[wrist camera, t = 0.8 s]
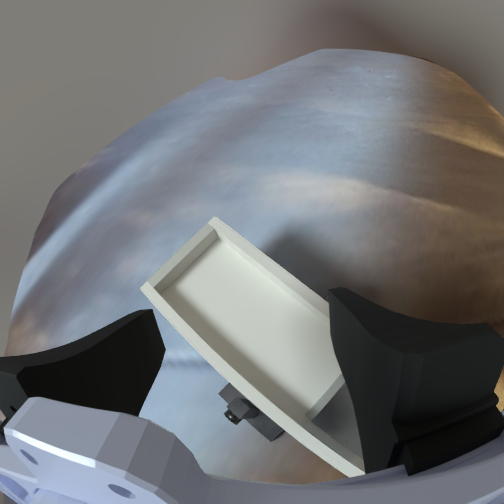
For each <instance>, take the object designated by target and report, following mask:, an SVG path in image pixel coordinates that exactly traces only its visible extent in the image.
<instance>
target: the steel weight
mask: <svg viewBox="0 0 504 504" xmlns="http://www.w3.org/2000/svg"><path fill="white" fill-rule="evenodd" d="M306 416H307V417H308V419H309V420H310V421H311V422H312V423H314V424H315V425H316V426H318V427H319V428H320V429H322V430H323V431H324V432H325V433H327V434H328V435H329V436H331V437H332V438H334V439H335V440H336V441H338V442H339V443H340V444H342V445H343V446H345V447H346V448H347V449H349V450H350V451H352V452H353V453H354V454H356V455H357V456H359V457H360V458H362V459H363V454H362V448H361V442H360V436H359V431H358V426H357V421H356V416H355V412H354V407H353V403H352V400H351V396H350V393H349V391H348V388H347V385H346V383H345V380H344V377H343V375H342V373H341V374H340V375H339V377H338V378H337V379H336V380H335V382H334V383H333V384H332V385H331V386H330V387H329V389H328V390H327V391H326V392H325V393H324V394H323V396H322V397H321V398H320V399H319V400H318V401H317V402H316V404H315V405H314V406H313V407H312V408H311V409H310V410H309V411H308V412H307V413H306Z"/></svg>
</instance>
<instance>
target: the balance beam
mask: <svg viewBox="0 0 504 504" xmlns="http://www.w3.org/2000/svg"><path fill="white" fill-rule="evenodd" d="M140 289H141V291H142V292H143V293H144V294H145V295H146V296H147V298H148V299H149V300H150V301H151V302H152V303H153V304H154V306H155V307H156V308H157V309H158V310H159V311H160V312H161V313H162V314H163V316H164V317H165V318H166V319H167V320H168V321H169V322H170V323H171V324H172V325H173V326H174V328H175V329H176V330H177V331H178V332H179V333H180V334H181V335H182V336H183V337H184V338H185V339H186V340H187V341H188V342H189V343H190V344H191V345H192V346H193V347H194V348H195V349H196V350H197V351H198V352H199V353H200V354H201V355H202V356H203V357H204V358H205V359H206V360H207V361H208V362H209V363H210V364H211V365H212V366H213V367H214V368H215V369H216V370H217V371H218V372H219V373H220V374H221V375H222V376H223V377H224V378H225V379H226V380H227V381H229V382H230V383H231V384H232V385H233V386H234V387H235V388H236V389H237V390H238V391H239V392H241V393H242V394H243V395H244V396H245V397H246V398H247V399H248V400H250V401H251V402H252V403H253V404H254V405H255V406H256V407H258V408H259V409H260V410H261V411H262V412H263V413H265V414H266V415H267V416H268V417H269V418H271V419H272V420H273V421H274V422H275V423H277V424H278V425H279V426H280V427H282V428H283V429H284V430H285V431H286V432H288V433H289V434H290V435H292V436H293V437H294V438H295V439H297V440H298V441H299V442H301V443H302V444H303V445H304V446H306V447H307V448H308V449H310V450H311V451H312V452H314V453H315V454H317V455H318V456H319V457H321V458H322V459H323V460H325V461H326V462H328V463H329V464H330V465H332V466H333V467H335V468H336V469H338V470H339V471H341V472H342V473H344V474H345V475H347V476H348V477H355V476H360V475H364V474H365V468H364V461H363V459H362V458H360V457H359V456H357V455H356V454H354V453H353V452H352V451H350V450H349V449H347V448H346V447H345V446H343V445H342V444H340V443H339V442H338V441H336V440H335V439H334V438H332V437H331V436H329V435H328V434H327V433H325V432H324V431H323V430H322V429H320V428H319V427H318V426H316V425H315V424H314V423H312V422H311V421H310V420H309V419H308V417H307V416H306V413H307V412H308V411H309V410H310V409H311V408H312V407H313V406H314V405H315V404H316V402H317V401H318V400H319V399H320V398H321V397H322V396H323V394H324V393H325V392H326V391H327V390H328V389H329V387H330V386H331V385H332V384H333V383H334V382H335V380H336V379H337V378H338V377H339V375H340V374H341V373H342V372H341V369H340V367H339V364H338V361H337V359H336V356H335V353H334V349H333V344H332V340H331V335H330V316H329V303H328V302H327V301H325V300H324V299H323V298H321V297H320V296H319V295H318V294H316V293H315V292H314V291H312V290H311V289H310V288H308V287H307V286H306V285H305V284H303V283H302V282H301V281H299V280H298V279H297V278H295V277H294V276H293V275H291V274H290V273H289V272H288V271H286V270H285V269H284V268H282V267H281V266H280V265H278V264H277V263H276V262H275V261H273V260H272V259H271V258H269V257H268V256H267V255H265V254H264V253H263V252H261V251H260V250H259V249H258V248H256V247H255V246H254V245H252V244H251V243H250V242H248V241H247V240H246V239H244V238H243V237H242V236H240V235H239V234H238V233H237V232H235V231H234V230H233V229H231V228H230V227H229V226H227V225H226V224H225V223H223V222H222V221H221V220H219V219H218V218H217V217H215V216H214V217H213V218H212V219H211V220H210V221H209V222H208V223H207V224H206V225H205V226H204V227H203V228H202V229H200V230H199V231H198V232H197V233H196V234H195V235H194V236H193V237H192V238H191V239H190V240H189V241H188V242H187V243H186V244H185V245H184V246H183V247H181V248H180V249H179V250H178V251H177V252H176V253H175V254H174V255H173V256H172V257H171V258H170V259H169V260H168V261H167V262H166V263H165V264H164V265H163V266H162V267H161V268H160V269H159V270H158V271H157V272H156V273H155V274H154V275H153V276H152V277H151V278H150V279H149V280H148V281H147V282H146V283H145V284H144V285H143V286H142V287H141V288H140Z"/></svg>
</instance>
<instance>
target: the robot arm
mask: <svg viewBox="0 0 504 504" xmlns="http://www.w3.org/2000/svg"><path fill="white" fill-rule="evenodd" d="M328 298H329V316H330V335H331V340H332V344H333V349H334V353H335V356H336V359H337V361H338V364H339V367H340V369H341V372H342V375H343V377H344V380H345V383H346V385H347V388H348V391H349V393H350V396H351V400H352V403H353V407H354V412H355V416H356V421H357V426H358V431H359V436H360V442H361V448H362V454H363V461H364V468H365V474H364V475H360V476H355V477H350V478H344V479H339V480H333V481H326V482H319V483H312V484H303V485H293V484H278V483H267V482H258V481H250V480H242V479H236V478H230V477H224V476H218V475H213V474H207V473H205V472H203V470H202V469H201V468H200V466H199V464H198V463H197V461H196V459H195V457H194V456H193V454H192V452H191V451H190V450H189V449H188V448H187V447H186V446H185V445H184V444H183V443H182V442H181V441H180V440H179V439H178V438H177V437H176V436H175V435H174V433H172V432H170V431H168V430H166V429H164V428H163V427H161V426H159V425H157V424H156V423H154V422H152V421H150V420H148V419H144V418H140V417H138V416H139V413H140V411H141V408H142V406H143V404H144V401H145V399H146V397H147V395H148V393H149V391H150V389H151V387H152V385H153V383H154V381H155V378H156V376H157V374H158V372H159V370H160V367H161V364H162V361H163V357H164V354H165V350H166V349H165V346H164V343H163V340H162V337H161V334H160V331H159V328H158V325H157V322H156V319H155V316H154V313H153V309H146V310H138V311H135V312H133V313H131V314H128V315H126V316H124V317H122V318H120V319H119V320H117V321H115V322H113V323H111V324H109V325H107V326H105V327H103V328H101V329H99V330H97V331H95V332H93V333H91V334H89V335H87V336H85V337H83V338H81V339H79V340H76V341H74V342H71V343H69V344H66V345H63V346H60V347H57V348H53V349H50V350H46V351H42V352H38V353H33V354H27V355H21V356H10V357H0V409H1V411H2V412H3V414H4V415H5V417H7V418H6V419H5V420H4V421H3V422H2V421H1V420H0V490H1V491H2V492H3V493H5V494H6V495H7V496H9V497H10V498H12V499H13V500H14V501H16V502H17V503H19V504H504V410H503V411H502V412H500V411H499V409H498V408H497V407H496V405H497V404H498V402H499V398H498V397H497V395H496V394H495V393H494V389H495V387H496V384H497V382H498V379H499V377H500V374H501V371H502V369H503V366H504V339H503V338H502V337H501V336H500V335H499V334H498V333H497V332H496V331H495V330H494V329H493V328H492V327H491V326H490V325H488V324H487V323H480V324H451V323H439V322H432V321H426V320H421V319H416V318H412V317H409V316H405V315H402V314H399V313H396V312H393V311H390V310H388V309H386V308H383V307H381V306H379V305H377V304H375V303H372V302H370V301H369V300H367V299H365V298H363V297H361V296H359V295H357V294H356V293H354V292H352V291H350V290H348V289H346V288H344V287H343V288H336V289H329V290H328Z"/></svg>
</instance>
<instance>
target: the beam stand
mask: <svg viewBox="0 0 504 504" xmlns="http://www.w3.org/2000/svg"><path fill="white" fill-rule="evenodd" d="M338 288H342V287H338ZM333 289H334V288H333ZM325 301H327V302H328V303H329V298H328V296H327V297H326V298H325ZM218 394H219V395H220V396H221V397H222V398H223V399H224V400H225V401H226V402H227V403H228V404H229V405H228V406H227V408H228V410H227V411H226V412H225V413H224V415H225V416H226V417H227V418H228V419H229V420H230V421H231V422H232V423H234V424H236V425H237V424H238V423H239V422H240V421H241V420H242V419H245V420H247V421H248V422H249V423H250V424H251V425H252V426H253V427H254V428H255V429H257V430H258V431H259V432H260V433H261V434H262V435H264V436H265V437H266V438H267V439H268V440H269V441H271V442H272V441H273V440H274V439H275V438H276V437H277V436H278V435H279V434H280V433H281V432H282V431H283V430H284V429H283V428H282V427H280V426H279V425H278V424H277V423H275V422H274V421H273V420H272V419H271V418H269V417H268V416H267V415H266V414H265V413H263V412H262V411H261V410H260V409H259V408H258V407H256V406H255V405H254V404H253V403H252V402H251V401H250V400H248V399H247V398H246V397H245V396H244V395H243V394H242V393H241V392H239V391H238V390H237V389H236V388H235V387H234V386H233V385H232V384H231V383H230V382H229V383H228V384H227V385H226V386H225V388H224V389H223V390H221V391H220V392H219V393H218Z"/></svg>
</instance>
